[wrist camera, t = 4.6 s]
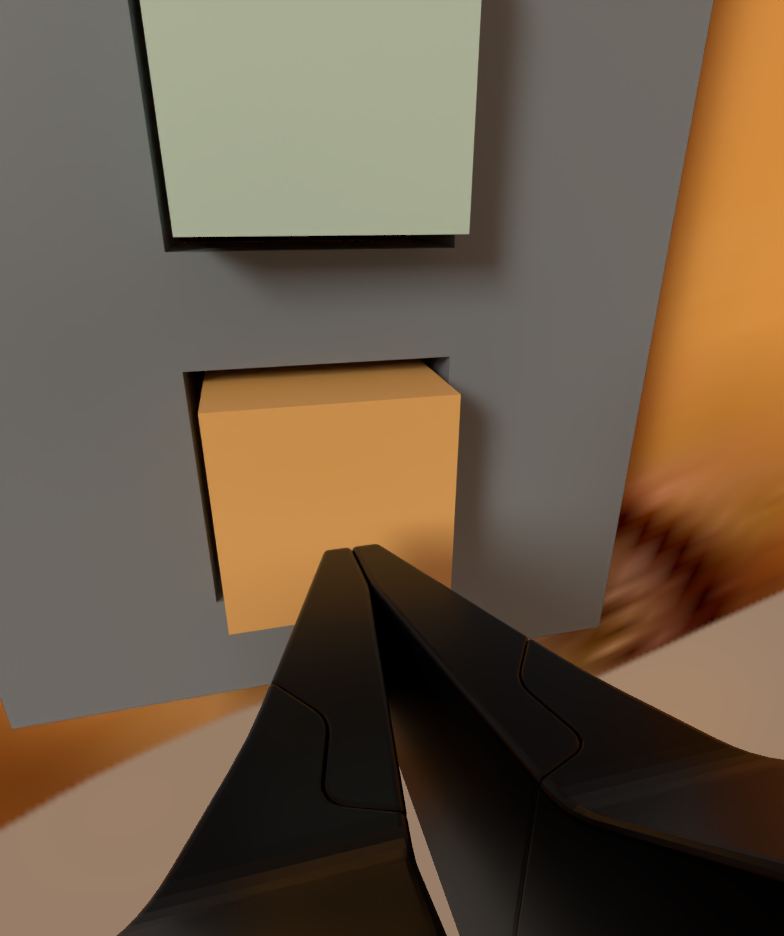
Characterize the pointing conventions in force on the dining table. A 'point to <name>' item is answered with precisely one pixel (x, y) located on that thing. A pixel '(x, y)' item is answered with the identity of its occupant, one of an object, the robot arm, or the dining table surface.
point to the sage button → (315, 115)
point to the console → (316, 338)
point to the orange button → (325, 475)
